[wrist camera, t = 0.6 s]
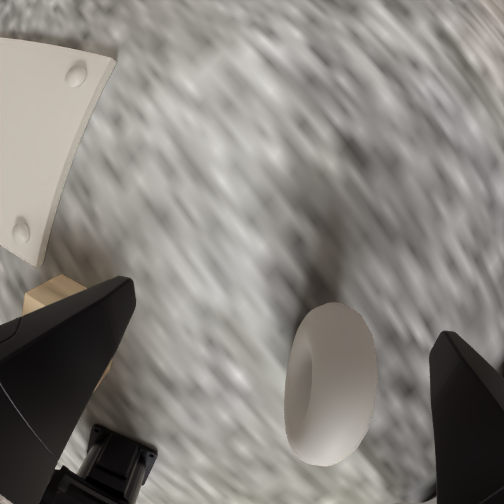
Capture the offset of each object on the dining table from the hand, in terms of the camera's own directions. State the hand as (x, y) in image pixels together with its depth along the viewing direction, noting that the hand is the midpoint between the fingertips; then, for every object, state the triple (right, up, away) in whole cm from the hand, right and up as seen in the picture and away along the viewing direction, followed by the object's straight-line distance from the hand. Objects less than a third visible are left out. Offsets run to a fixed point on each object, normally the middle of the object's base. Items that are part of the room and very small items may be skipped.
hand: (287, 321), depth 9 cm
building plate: (-21, +11, +11) cm, 26 cm away
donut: (+3, -5, +14) cm, 15 cm away
